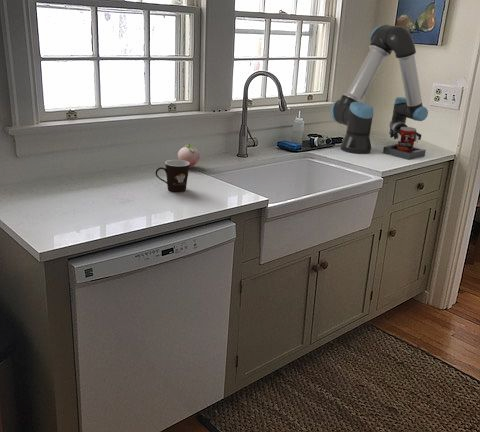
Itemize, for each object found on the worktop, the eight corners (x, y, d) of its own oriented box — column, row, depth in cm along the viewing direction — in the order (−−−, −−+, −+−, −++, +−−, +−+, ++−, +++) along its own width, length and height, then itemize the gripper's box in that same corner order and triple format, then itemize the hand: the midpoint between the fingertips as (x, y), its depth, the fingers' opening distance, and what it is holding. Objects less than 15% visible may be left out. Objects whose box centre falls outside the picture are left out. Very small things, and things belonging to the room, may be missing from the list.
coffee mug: (189, 186, 193) (190, 160, 190) (188, 194, 185) (188, 166, 182) (157, 185, 193) (158, 158, 189) (154, 192, 185) (155, 165, 181)
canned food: (396, 150, 262) (400, 128, 258) (397, 147, 269) (400, 126, 265) (412, 152, 260) (416, 130, 256) (412, 149, 267) (416, 127, 263)
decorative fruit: (173, 166, 218) (174, 142, 214) (190, 164, 222) (191, 140, 219) (185, 172, 211) (185, 147, 207) (202, 169, 215) (203, 146, 212)
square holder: (408, 159, 256) (409, 153, 255) (382, 152, 266) (383, 146, 265) (424, 156, 265) (425, 150, 264) (398, 149, 275) (399, 143, 274)
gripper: (419, 138, 280) (428, 148, 258) (380, 135, 281) (386, 144, 260) (421, 124, 277) (431, 133, 256) (382, 121, 279) (388, 129, 257)
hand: (408, 139), depth 258 cm, fingers closed on canned food, 8 cm apart
